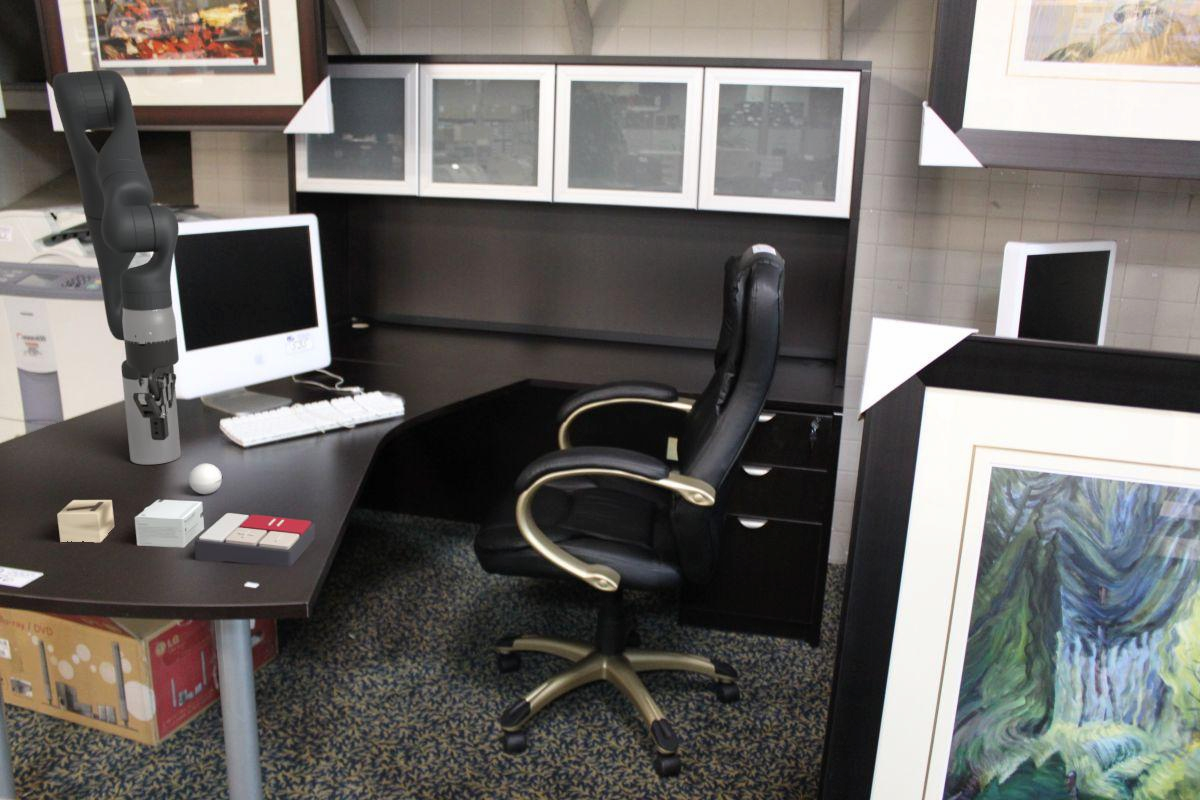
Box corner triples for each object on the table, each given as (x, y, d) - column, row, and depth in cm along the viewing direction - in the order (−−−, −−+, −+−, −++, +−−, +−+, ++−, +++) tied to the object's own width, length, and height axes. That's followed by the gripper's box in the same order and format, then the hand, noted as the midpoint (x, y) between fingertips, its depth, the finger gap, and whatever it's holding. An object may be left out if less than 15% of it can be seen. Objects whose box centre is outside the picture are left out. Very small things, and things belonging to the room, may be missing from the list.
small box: (184, 548, 150) (182, 518, 149) (135, 546, 150) (132, 516, 149) (205, 529, 157) (203, 500, 156) (159, 527, 157) (156, 498, 156)
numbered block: (76, 528, 156) (72, 499, 154) (114, 528, 156) (111, 499, 155) (60, 543, 150) (57, 513, 148) (100, 543, 151) (97, 513, 149)
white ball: (212, 500, 169) (210, 470, 168) (183, 496, 170) (181, 467, 169) (235, 485, 177) (233, 457, 175) (207, 482, 177) (205, 454, 176)
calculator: (290, 546, 144) (193, 535, 145) (290, 572, 145) (194, 561, 146) (315, 518, 155) (225, 508, 155) (315, 543, 156) (225, 533, 156)
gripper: (140, 324, 154) (150, 425, 159) (108, 344, 141) (120, 452, 146) (188, 325, 154) (197, 425, 160) (160, 345, 142) (170, 453, 147)
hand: (160, 438), depth 153 cm, fingers closed
